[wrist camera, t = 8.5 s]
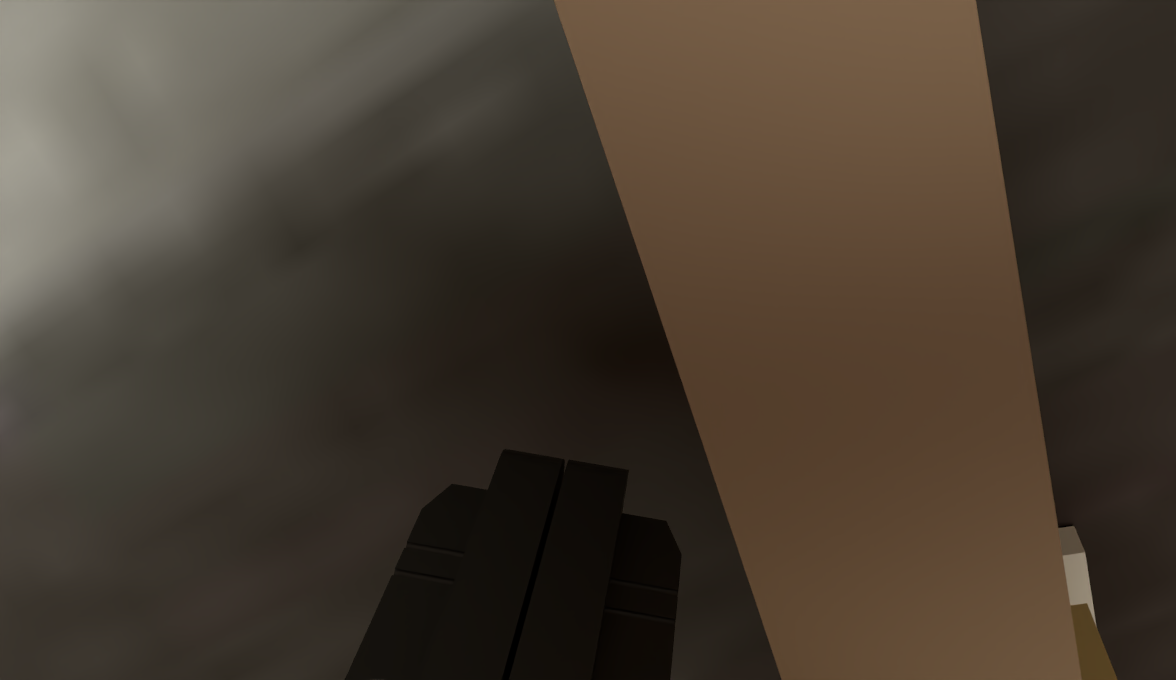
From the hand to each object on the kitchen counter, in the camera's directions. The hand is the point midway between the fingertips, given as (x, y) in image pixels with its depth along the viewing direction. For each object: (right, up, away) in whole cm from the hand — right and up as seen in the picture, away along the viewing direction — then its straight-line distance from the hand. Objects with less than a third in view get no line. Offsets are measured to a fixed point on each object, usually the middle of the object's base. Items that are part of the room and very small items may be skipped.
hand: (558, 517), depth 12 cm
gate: (+3, +5, 0) cm, 6 cm away
